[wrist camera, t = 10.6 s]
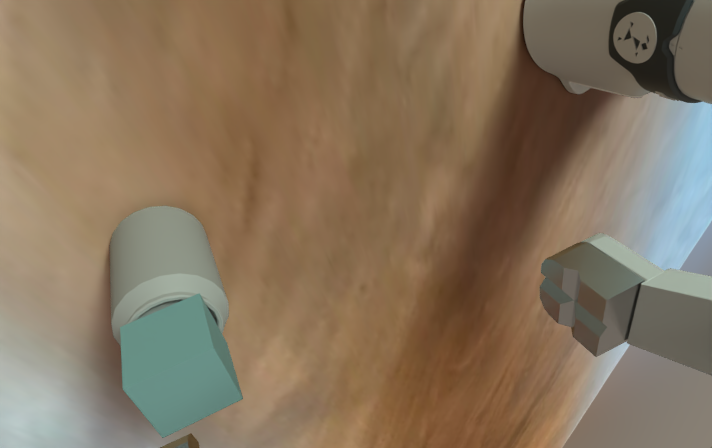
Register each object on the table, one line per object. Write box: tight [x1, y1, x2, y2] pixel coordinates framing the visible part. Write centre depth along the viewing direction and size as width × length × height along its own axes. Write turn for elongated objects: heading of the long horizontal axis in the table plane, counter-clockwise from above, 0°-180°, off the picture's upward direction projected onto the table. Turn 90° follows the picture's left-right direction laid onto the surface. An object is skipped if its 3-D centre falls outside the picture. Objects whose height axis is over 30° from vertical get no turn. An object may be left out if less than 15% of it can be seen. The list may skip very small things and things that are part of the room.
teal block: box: [120, 293, 243, 438], centre depth 30 cm, size 5×5×5 cm
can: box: [110, 206, 229, 346], centre depth 36 cm, size 8×8×12 cm
